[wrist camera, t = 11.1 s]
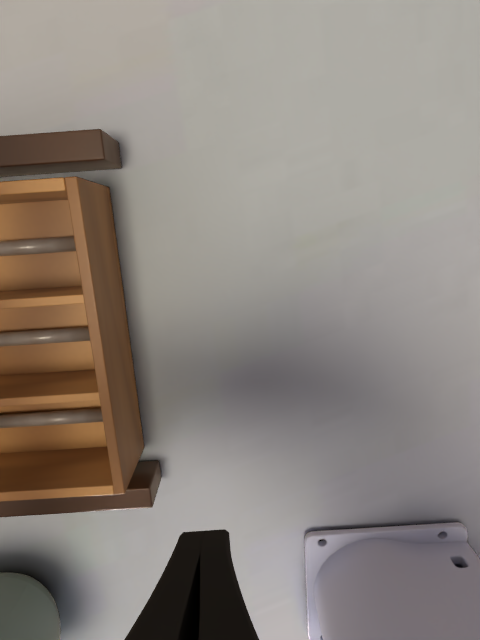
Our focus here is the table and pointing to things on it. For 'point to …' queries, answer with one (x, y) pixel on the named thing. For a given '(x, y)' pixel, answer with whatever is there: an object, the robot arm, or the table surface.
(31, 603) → the cup
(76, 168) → the stand
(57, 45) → the table surface
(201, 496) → the table surface
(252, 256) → the table surface
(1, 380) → the cutlery tray
